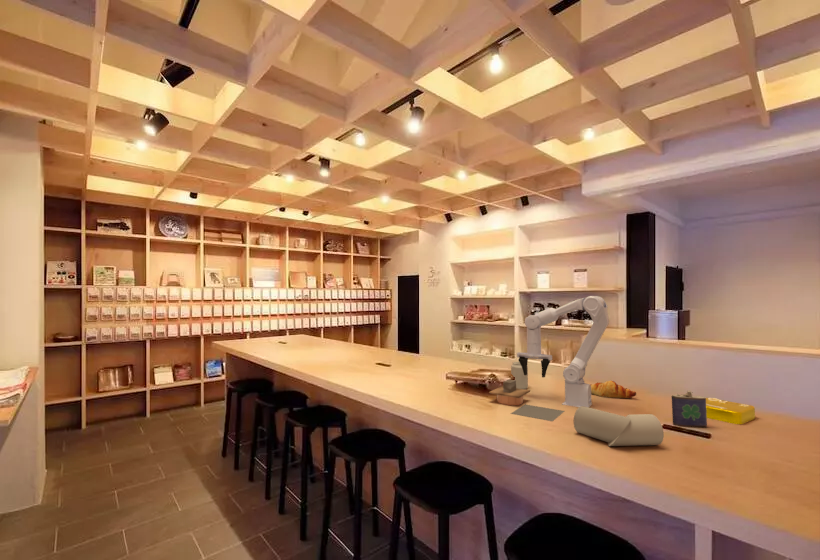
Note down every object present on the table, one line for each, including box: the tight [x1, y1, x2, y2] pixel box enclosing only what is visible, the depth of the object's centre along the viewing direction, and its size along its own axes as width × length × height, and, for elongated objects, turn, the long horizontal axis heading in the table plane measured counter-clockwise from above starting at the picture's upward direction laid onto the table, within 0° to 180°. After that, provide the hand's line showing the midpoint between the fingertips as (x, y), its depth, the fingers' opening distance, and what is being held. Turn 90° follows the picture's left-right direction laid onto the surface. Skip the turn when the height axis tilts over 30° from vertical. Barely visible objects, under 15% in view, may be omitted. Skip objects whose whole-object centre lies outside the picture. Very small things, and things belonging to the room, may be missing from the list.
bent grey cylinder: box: [573, 406, 665, 447], centre depth 116 cm, size 18×11×20 cm
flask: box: [671, 390, 708, 429], centre depth 128 cm, size 10×3×12 cm, turn 78°
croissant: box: [589, 380, 637, 399], centre depth 168 cm, size 21×10×8 cm, turn 53°
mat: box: [510, 404, 565, 422], centre depth 142 cm, size 15×15×1 cm
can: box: [510, 361, 529, 390], centre depth 182 cm, size 8×8×12 cm
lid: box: [488, 379, 531, 398], centre depth 157 cm, size 12×12×5 cm
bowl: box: [496, 395, 524, 406], centre depth 157 cm, size 10×10×4 cm
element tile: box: [705, 397, 756, 426], centre depth 139 cm, size 15×15×5 cm
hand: (534, 376), depth 164 cm, fingers open, 7 cm apart
